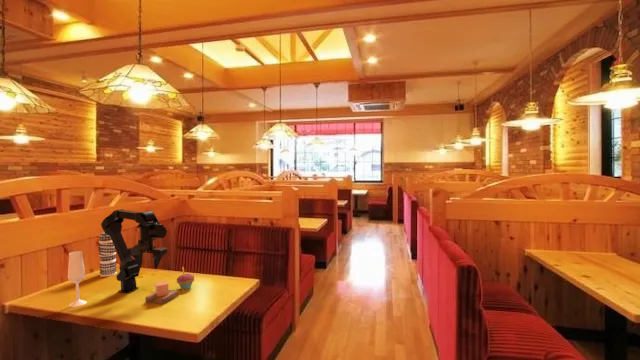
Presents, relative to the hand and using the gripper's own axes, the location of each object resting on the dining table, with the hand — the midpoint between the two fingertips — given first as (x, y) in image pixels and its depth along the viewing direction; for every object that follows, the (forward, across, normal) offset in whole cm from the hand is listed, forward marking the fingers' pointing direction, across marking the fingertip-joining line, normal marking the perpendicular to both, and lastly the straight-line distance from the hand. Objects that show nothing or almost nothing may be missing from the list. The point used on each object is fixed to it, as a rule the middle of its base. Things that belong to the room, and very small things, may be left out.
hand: (148, 268), depth 166 cm
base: (+13, +11, -4) cm, 17 cm away
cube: (+10, +11, -4) cm, 16 cm away
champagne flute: (+13, -24, -17) cm, 32 cm away
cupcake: (+13, +13, +11) cm, 22 cm away
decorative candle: (+13, -46, +21) cm, 52 cm away
